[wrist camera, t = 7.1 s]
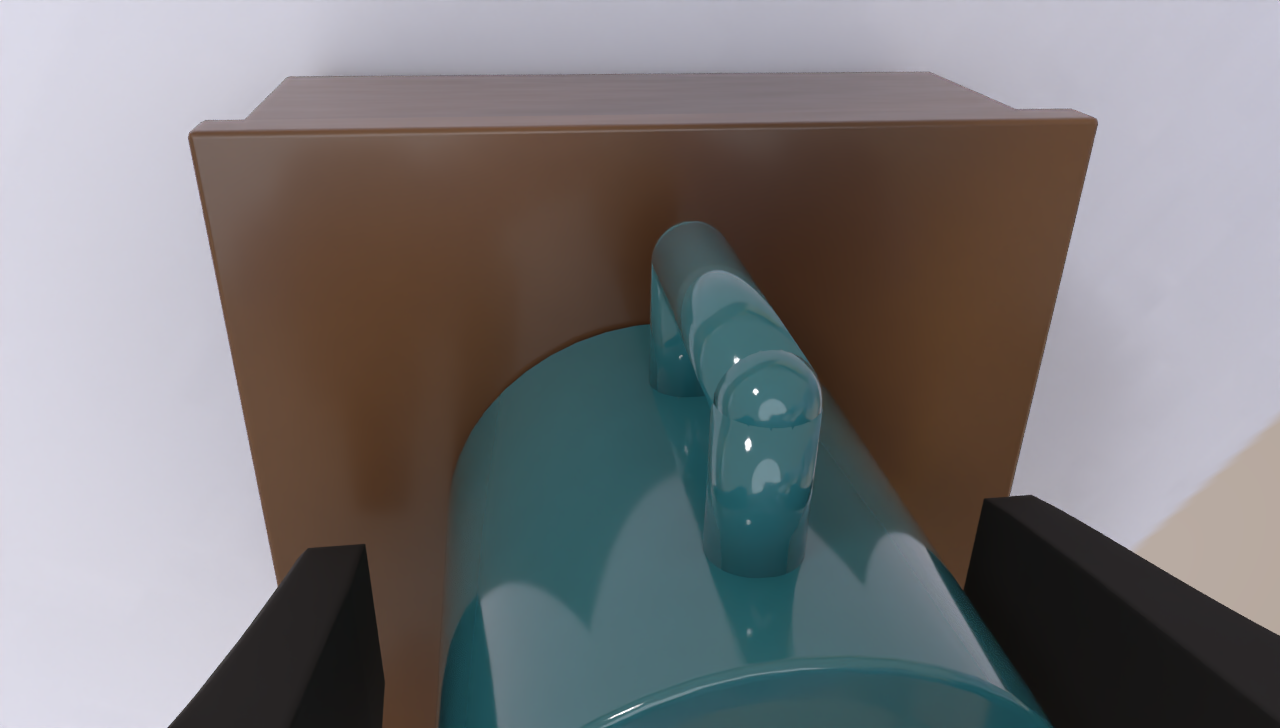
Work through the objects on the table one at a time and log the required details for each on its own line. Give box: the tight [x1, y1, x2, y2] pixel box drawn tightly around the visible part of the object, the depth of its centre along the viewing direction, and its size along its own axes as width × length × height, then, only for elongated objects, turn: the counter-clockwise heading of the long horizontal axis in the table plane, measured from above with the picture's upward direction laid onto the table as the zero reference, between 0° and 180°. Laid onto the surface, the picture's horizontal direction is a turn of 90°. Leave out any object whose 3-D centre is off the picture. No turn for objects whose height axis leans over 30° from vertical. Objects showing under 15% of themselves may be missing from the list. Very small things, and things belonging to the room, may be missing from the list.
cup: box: [435, 221, 1055, 728], centre depth 9 cm, size 5×7×6 cm
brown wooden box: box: [188, 72, 1098, 728], centre depth 15 cm, size 10×10×5 cm
